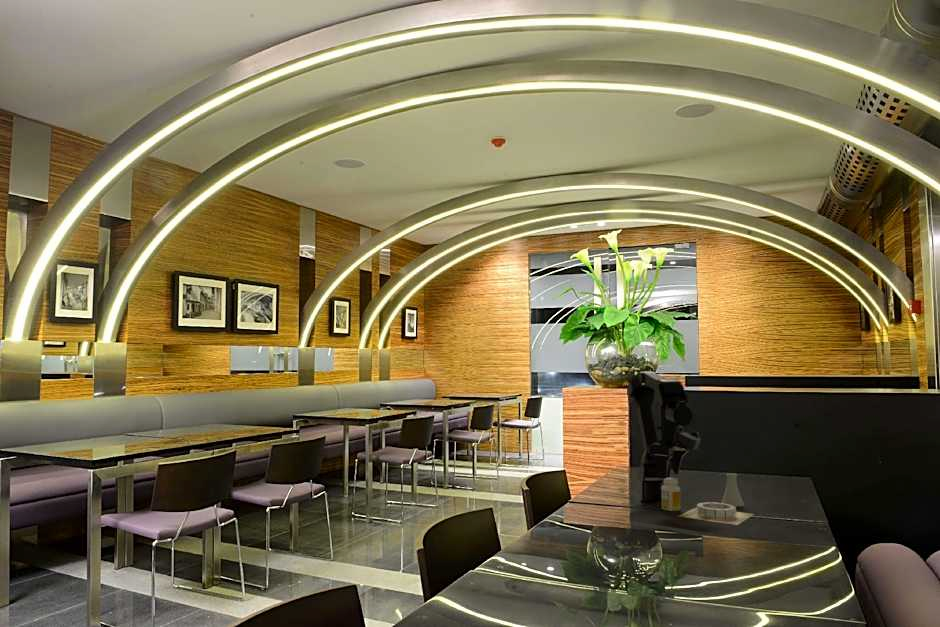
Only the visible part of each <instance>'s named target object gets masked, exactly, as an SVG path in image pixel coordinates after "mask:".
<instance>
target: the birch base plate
mask: <svg viewBox="0 0 940 627" xmlns="http://www.w3.org/2000/svg"><path fill="white" fill-rule="evenodd" d="M754 515H755V513H748V512H743V511H741V512H740V511H736V517H735V518H734V519H711V518H705V517H702V516H699V515H698V514H697V506H696V507H694V508H691V509H689V510H687V511H685V512H684V513H681V514H680V515H678V516H677V517H679V518H687V519H693V520H700V521H708V522H714V523H719V524H720V523H721V524H725V525H727V524H728V525H734V526H738V525H740V524H742V523H743V522H745V521H746V520H748V519H749V518H751V517H753V516H754Z"/></svg>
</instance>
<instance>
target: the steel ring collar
mask: <svg viewBox="0 0 940 627" xmlns="http://www.w3.org/2000/svg"><path fill="white" fill-rule="evenodd" d="M696 507H697V514H698V515H699V516H702V517H705V518H711V519H734V518H735V517H736V512H737V507H735V506H733V505H729V504H724V503H721V502H715V501H713V502H712V501H711V502H710V501H709V502H705V501H704V502H699V503H697V504H696Z"/></svg>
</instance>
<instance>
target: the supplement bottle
mask: <svg viewBox="0 0 940 627" xmlns="http://www.w3.org/2000/svg"><path fill="white" fill-rule="evenodd" d="M663 482H664V485H663V486H662V487H661V501H660V502H661V510H664V511H668V512H679V511H681V510H682V506H681V505H682V504H681V503H682V502H681V501H682V500H681V499H682V498H681V496H682V495H681V494H682V493H681V487H680V486H678V483H679V481H678V478H676V477H669V478H666V479H664V481H663Z"/></svg>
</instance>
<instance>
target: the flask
mask: <svg viewBox="0 0 940 627" xmlns="http://www.w3.org/2000/svg"><path fill="white" fill-rule="evenodd" d="M725 475H726V480H727V481H726V486H725V490H724V494H723V496H722V500H721V502H720V503H724V504H729V505H733V506H735V507H736V508H738V507H744V505H745V503H744V501H743V499H742V496H741V493H740V490H739V487H738V484H737V477H738V474H737V473H733V472H732V473H730V472H729V473H728V472H727V473H725Z"/></svg>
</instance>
